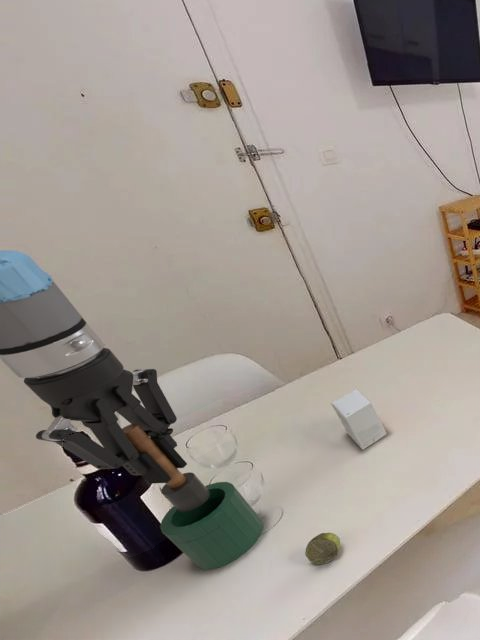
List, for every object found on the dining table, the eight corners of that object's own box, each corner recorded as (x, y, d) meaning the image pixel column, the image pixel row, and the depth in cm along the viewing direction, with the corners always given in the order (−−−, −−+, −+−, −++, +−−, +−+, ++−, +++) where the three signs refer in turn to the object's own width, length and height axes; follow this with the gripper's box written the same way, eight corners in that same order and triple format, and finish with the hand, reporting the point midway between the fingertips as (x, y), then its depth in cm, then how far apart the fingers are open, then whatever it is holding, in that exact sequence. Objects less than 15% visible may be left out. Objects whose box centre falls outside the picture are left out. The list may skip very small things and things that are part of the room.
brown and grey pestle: (171, 513, 68) (99, 440, 59) (193, 490, 72) (128, 418, 63) (195, 512, 68) (127, 439, 60) (216, 489, 72) (154, 417, 63)
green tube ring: (181, 570, 72) (143, 535, 67) (227, 517, 80) (196, 482, 75) (235, 568, 72) (201, 533, 67) (275, 516, 80) (248, 480, 75)
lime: (347, 552, 74) (336, 537, 71) (316, 575, 71) (303, 559, 68) (340, 536, 77) (329, 520, 74) (309, 556, 73) (297, 541, 71)
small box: (387, 434, 97) (372, 402, 92) (362, 451, 93) (345, 418, 88) (372, 419, 101) (357, 388, 96) (347, 434, 97) (330, 402, 92)
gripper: (21, 402, 48) (144, 518, 60) (151, 328, 61) (231, 435, 73) (-43, 404, 48) (92, 520, 60) (101, 329, 61) (189, 436, 73)
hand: (168, 473), depth 66 cm, fingers closed on brown and grey pestle, 2 cm apart
